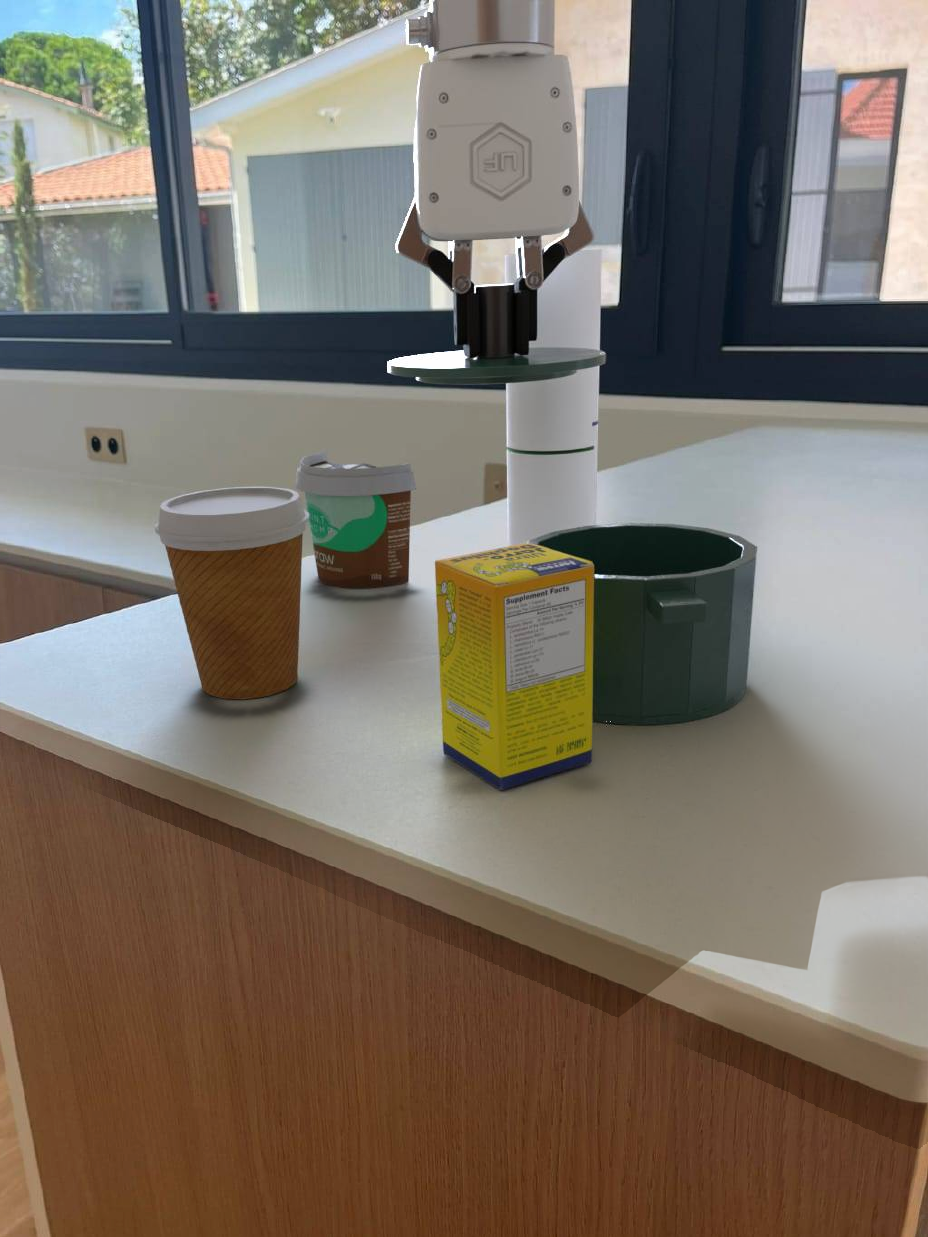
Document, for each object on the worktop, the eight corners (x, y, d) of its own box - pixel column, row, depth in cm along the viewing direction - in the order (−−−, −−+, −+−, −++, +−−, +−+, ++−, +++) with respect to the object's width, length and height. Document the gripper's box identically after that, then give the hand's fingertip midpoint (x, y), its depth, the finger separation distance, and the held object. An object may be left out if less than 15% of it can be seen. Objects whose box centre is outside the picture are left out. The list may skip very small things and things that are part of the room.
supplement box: (528, 728, 63) (527, 539, 59) (594, 765, 58) (598, 561, 54) (438, 753, 61) (431, 557, 56) (500, 793, 56) (496, 582, 51)
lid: (578, 360, 82) (579, 277, 80) (631, 379, 68) (634, 280, 66) (381, 372, 81) (377, 289, 79) (395, 393, 68) (391, 293, 66)
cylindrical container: (604, 570, 94) (612, 248, 84) (581, 593, 88) (587, 249, 78) (523, 565, 96) (522, 253, 87) (496, 587, 90) (491, 255, 81)
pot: (691, 629, 78) (697, 508, 75) (801, 734, 60) (816, 582, 57) (499, 642, 77) (497, 522, 74) (554, 752, 60) (554, 601, 57)
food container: (275, 575, 98) (264, 461, 94) (330, 561, 101) (322, 450, 97) (363, 601, 89) (355, 475, 85) (420, 584, 92) (415, 463, 89)
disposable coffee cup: (352, 677, 72) (339, 494, 68) (236, 721, 66) (213, 523, 62) (261, 649, 79) (244, 479, 74) (148, 687, 73) (121, 505, 68)
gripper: (361, 31, 64) (378, 366, 71) (640, 18, 64) (629, 352, 71) (357, 54, 70) (372, 358, 78) (608, 42, 71) (601, 344, 78)
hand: (495, 352), depth 74 cm, fingers closed on lid, 2 cm apart
